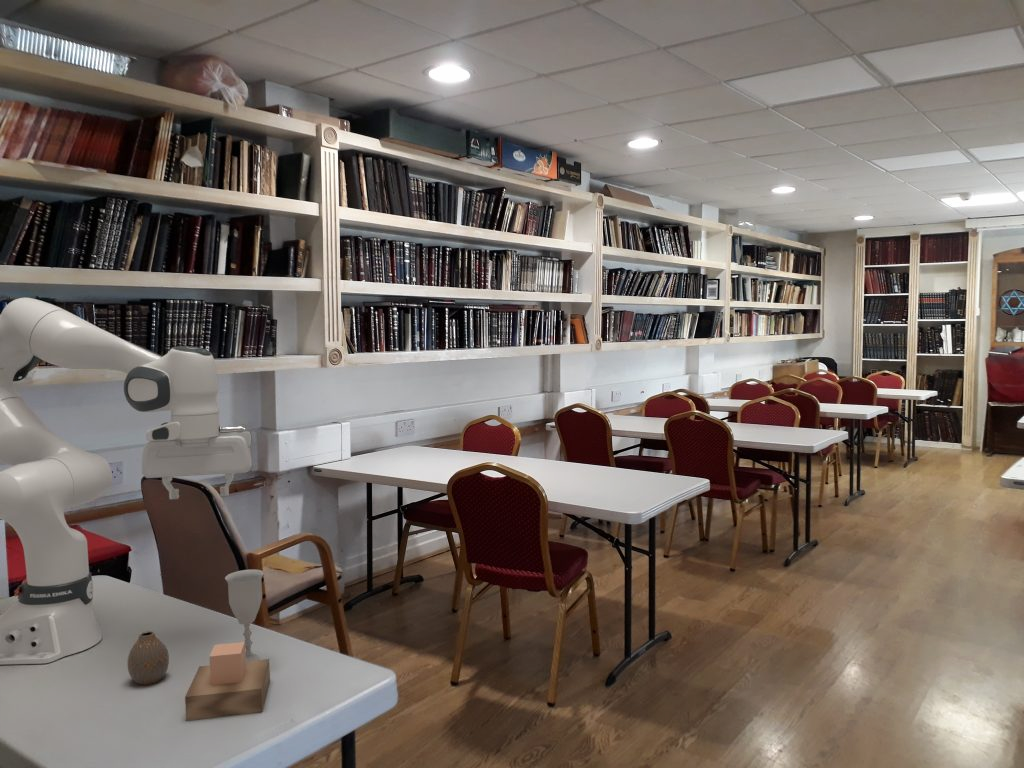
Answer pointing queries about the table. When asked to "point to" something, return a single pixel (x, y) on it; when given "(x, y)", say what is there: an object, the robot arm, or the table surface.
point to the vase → (148, 659)
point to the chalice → (245, 601)
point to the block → (227, 663)
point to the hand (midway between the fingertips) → (199, 497)
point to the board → (228, 693)
